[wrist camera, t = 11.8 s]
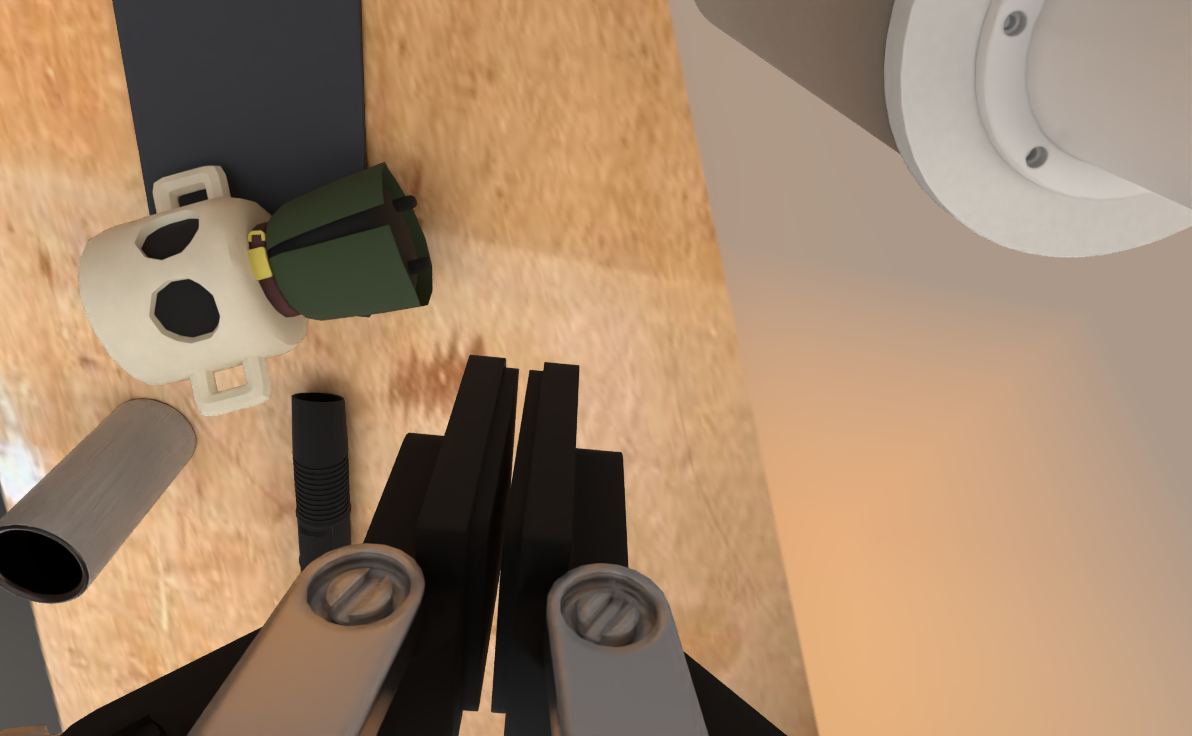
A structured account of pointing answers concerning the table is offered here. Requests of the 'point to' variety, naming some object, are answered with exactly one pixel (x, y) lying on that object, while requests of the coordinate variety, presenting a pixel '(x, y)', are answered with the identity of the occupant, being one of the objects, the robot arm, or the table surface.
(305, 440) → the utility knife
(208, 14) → the mat
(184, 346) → the character mug
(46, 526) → the grey hollow cylinder
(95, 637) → the table surface
